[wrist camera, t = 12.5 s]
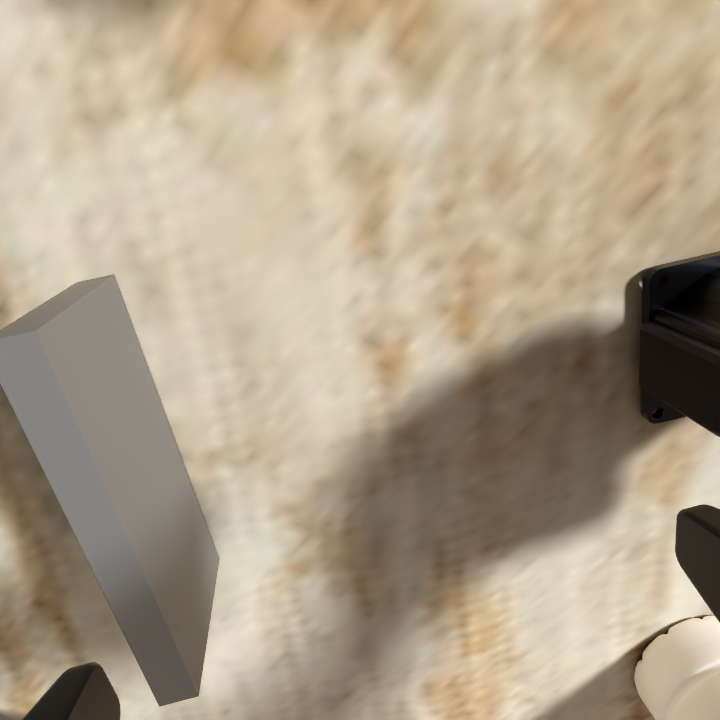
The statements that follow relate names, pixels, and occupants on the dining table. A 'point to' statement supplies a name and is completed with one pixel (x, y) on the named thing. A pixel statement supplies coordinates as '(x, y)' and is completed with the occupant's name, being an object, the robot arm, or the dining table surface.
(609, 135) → the dining table surface
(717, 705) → the water bottle
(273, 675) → the dining table surface
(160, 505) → the gray rectangular block
